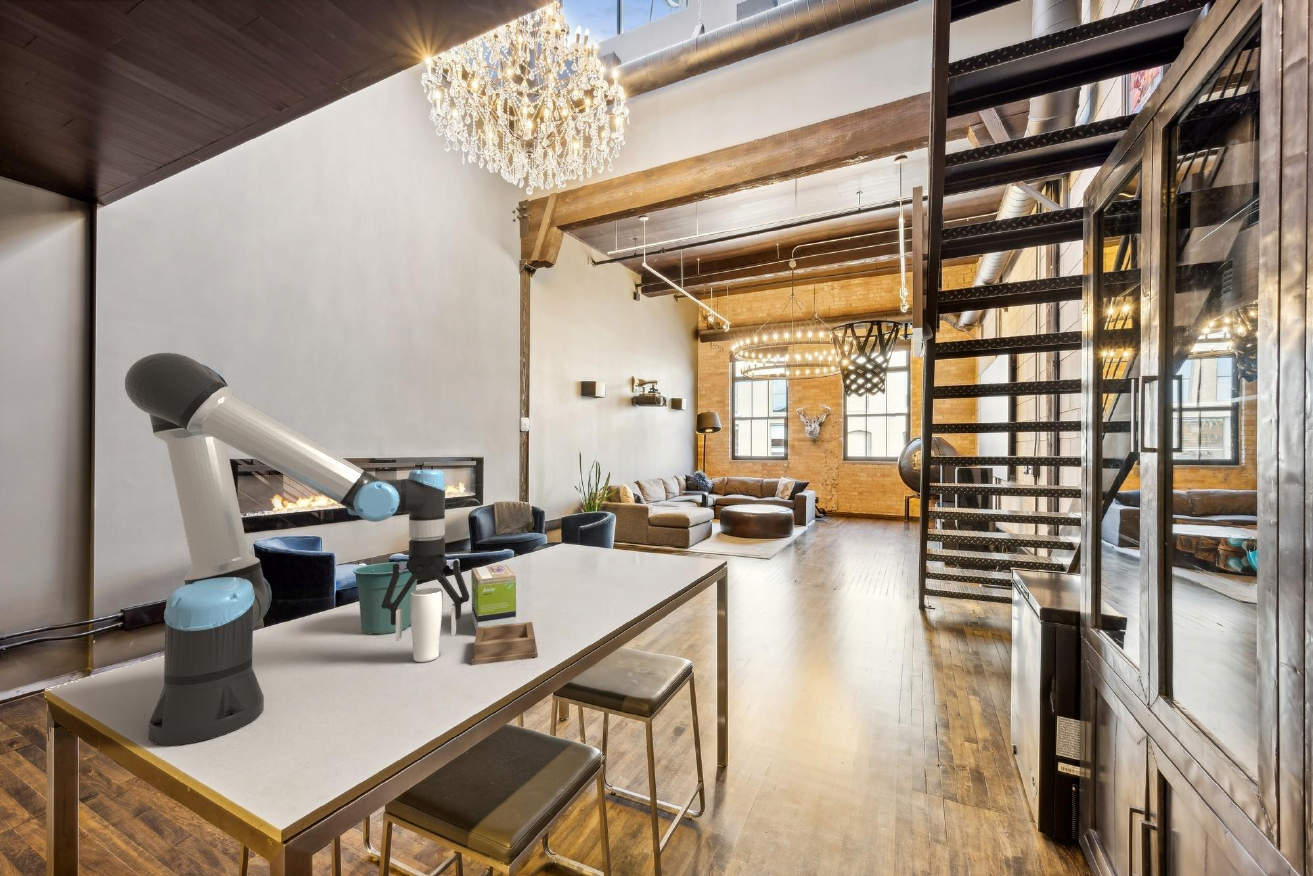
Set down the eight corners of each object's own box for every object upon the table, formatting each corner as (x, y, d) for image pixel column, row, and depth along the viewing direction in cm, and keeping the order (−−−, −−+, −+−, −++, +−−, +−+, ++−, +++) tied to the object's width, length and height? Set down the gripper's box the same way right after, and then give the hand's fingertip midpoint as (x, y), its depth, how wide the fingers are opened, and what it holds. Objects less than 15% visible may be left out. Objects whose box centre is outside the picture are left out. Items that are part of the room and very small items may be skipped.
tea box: (470, 620, 147) (470, 567, 148) (507, 615, 151) (507, 563, 152) (476, 637, 133) (476, 577, 134) (517, 631, 138) (517, 573, 138)
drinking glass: (402, 663, 117) (403, 594, 117) (423, 652, 123) (423, 586, 124) (429, 665, 115) (429, 595, 116) (448, 654, 122) (449, 588, 122)
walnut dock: (471, 664, 115) (471, 646, 115) (475, 643, 129) (475, 626, 129) (537, 657, 119) (537, 639, 119) (534, 637, 133) (534, 621, 133)
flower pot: (365, 620, 148) (366, 562, 149) (427, 616, 151) (428, 559, 152) (341, 640, 132) (342, 575, 133) (412, 635, 135) (412, 571, 135)
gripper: (481, 533, 127) (481, 626, 126) (374, 538, 121) (373, 636, 120) (480, 537, 120) (480, 636, 119) (365, 543, 113) (365, 647, 113)
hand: (426, 636), depth 119 cm, fingers open, 11 cm apart
